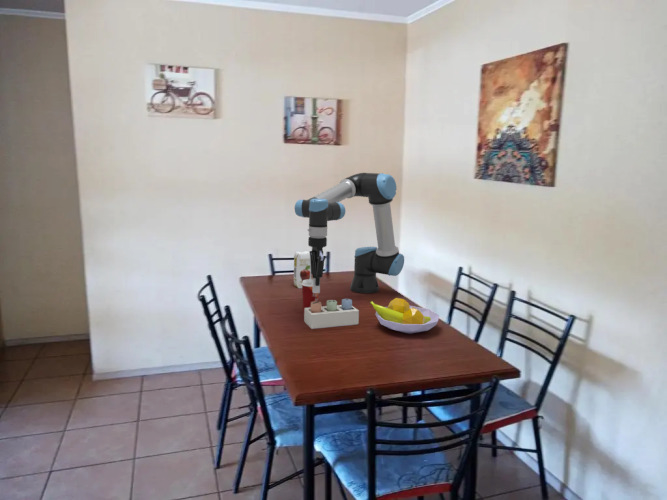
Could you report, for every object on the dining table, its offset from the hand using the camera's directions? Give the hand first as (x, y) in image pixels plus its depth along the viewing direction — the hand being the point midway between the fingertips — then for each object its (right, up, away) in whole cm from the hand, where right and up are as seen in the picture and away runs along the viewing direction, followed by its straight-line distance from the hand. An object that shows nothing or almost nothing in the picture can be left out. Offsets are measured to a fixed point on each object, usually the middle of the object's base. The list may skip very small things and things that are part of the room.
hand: (316, 292), depth 213 cm
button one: (+13, -10, +7) cm, 18 cm away
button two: (+6, -10, +5) cm, 13 cm away
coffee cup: (-3, -11, +17) cm, 21 cm away
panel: (+6, -13, +5) cm, 16 cm away
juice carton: (-10, -2, +63) cm, 64 cm away
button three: (0, -10, +2) cm, 10 cm away
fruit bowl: (+37, -15, +2) cm, 40 cm away
